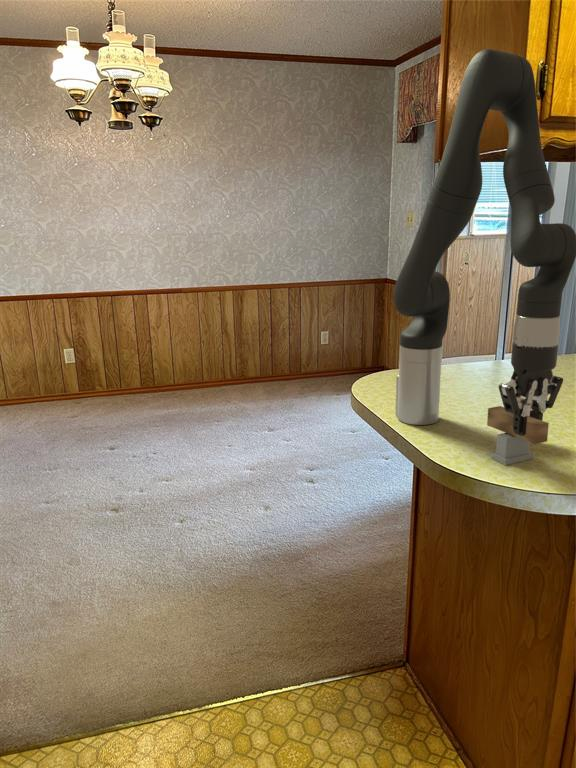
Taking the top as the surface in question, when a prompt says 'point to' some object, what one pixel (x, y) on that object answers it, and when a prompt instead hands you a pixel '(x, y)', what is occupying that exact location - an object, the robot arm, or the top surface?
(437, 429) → the top surface
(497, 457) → the block
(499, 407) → the walnut bar
